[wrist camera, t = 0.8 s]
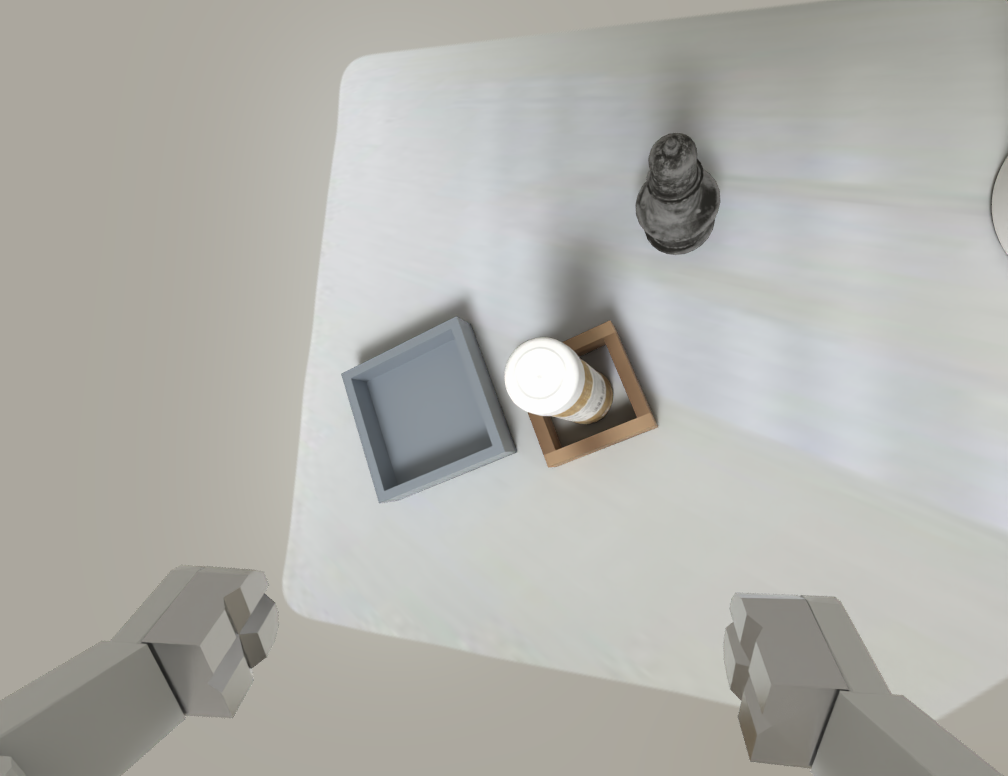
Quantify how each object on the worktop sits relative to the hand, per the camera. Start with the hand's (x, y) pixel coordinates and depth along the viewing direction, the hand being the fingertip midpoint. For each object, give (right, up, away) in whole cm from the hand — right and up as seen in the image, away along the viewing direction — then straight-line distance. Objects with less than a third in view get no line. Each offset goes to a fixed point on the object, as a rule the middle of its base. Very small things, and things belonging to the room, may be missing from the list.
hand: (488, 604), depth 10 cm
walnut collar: (+7, +3, +34) cm, 35 cm away
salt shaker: (+14, +17, +34) cm, 40 cm away
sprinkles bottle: (+7, +3, +35) cm, 35 cm away
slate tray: (-6, +2, +39) cm, 39 cm away
